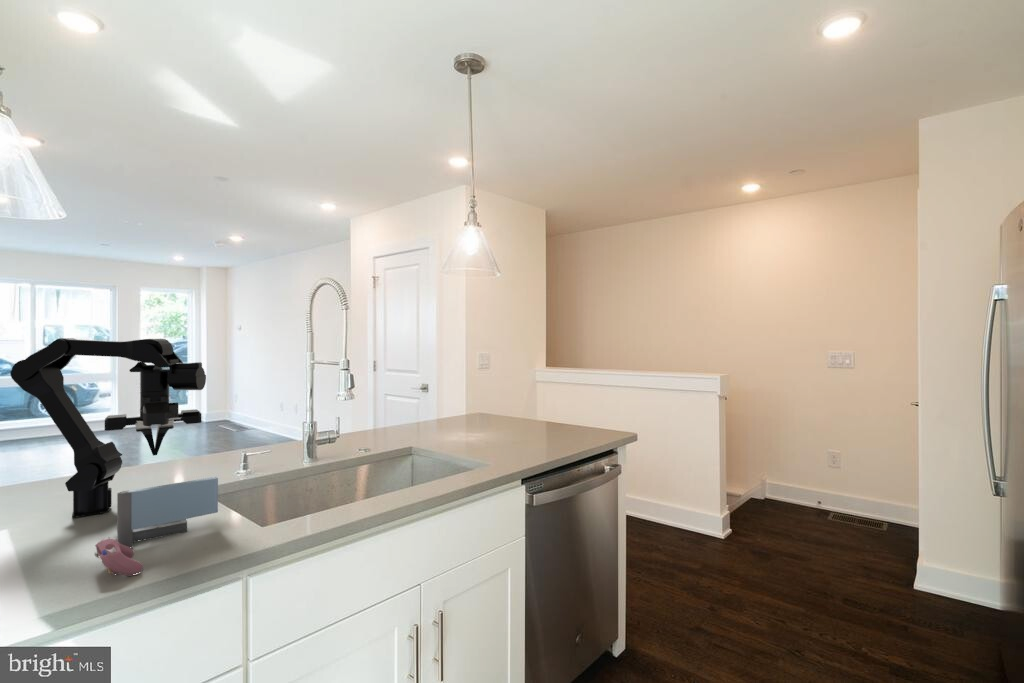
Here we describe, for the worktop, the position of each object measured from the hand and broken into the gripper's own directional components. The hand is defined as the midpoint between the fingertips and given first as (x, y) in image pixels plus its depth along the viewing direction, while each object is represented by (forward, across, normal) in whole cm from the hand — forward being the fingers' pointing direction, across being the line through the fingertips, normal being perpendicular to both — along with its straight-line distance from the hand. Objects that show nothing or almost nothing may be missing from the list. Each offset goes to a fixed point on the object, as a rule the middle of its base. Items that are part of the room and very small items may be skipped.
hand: (154, 455), depth 120 cm
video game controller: (+13, -6, -34) cm, 37 cm away
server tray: (+13, 0, -12) cm, 18 cm away
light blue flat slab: (+13, +2, -23) cm, 26 cm away
